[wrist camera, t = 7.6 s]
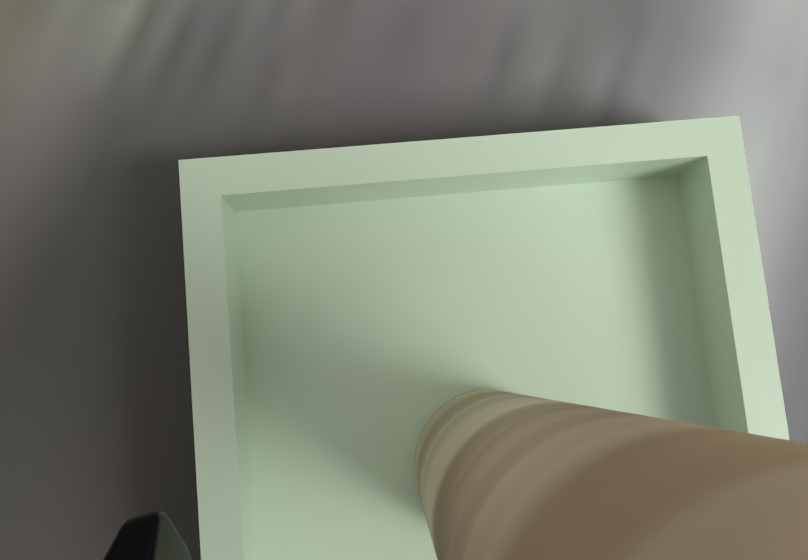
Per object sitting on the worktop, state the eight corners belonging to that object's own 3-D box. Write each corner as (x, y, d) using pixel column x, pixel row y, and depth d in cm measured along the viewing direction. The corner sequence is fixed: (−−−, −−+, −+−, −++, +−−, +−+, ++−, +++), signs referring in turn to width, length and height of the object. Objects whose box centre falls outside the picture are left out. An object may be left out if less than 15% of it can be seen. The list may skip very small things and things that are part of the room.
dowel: (593, 473, 16) (1452, 895, 3) (481, 575, 16) (923, 1503, 3) (496, 359, 16) (923, 315, 3) (382, 456, 16) (379, 816, 3)
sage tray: (802, 862, 16) (866, 936, 14) (247, 933, 15) (227, 1020, 13) (696, 146, 18) (738, 115, 16) (202, 186, 17) (178, 159, 15)
